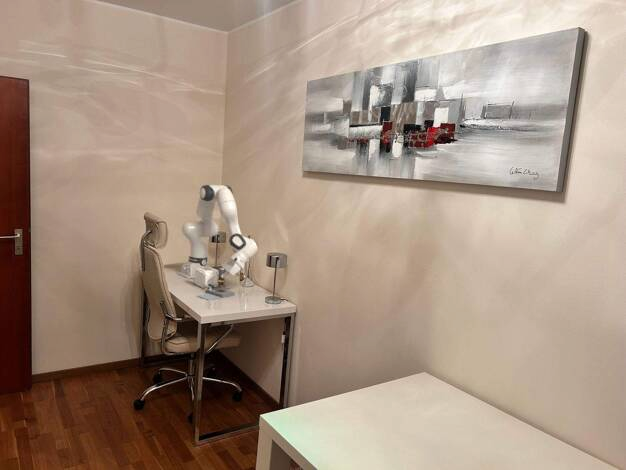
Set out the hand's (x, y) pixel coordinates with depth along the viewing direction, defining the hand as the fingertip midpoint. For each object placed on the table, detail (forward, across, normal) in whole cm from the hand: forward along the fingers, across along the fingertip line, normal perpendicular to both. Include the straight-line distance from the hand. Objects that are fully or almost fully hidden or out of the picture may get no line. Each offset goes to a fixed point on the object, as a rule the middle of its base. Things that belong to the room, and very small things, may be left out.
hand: (220, 276), depth 296 cm
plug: (+3, 0, +4) cm, 5 cm away
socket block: (+8, 0, +8) cm, 11 cm away
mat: (+14, +6, +2) cm, 15 cm away
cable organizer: (+11, -20, +6) cm, 24 cm away
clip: (+10, -6, +2) cm, 12 cm away
